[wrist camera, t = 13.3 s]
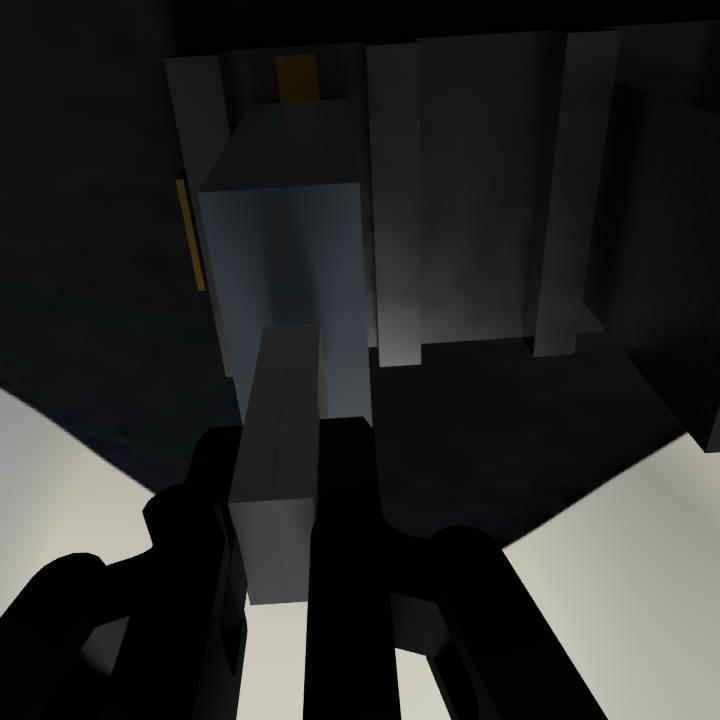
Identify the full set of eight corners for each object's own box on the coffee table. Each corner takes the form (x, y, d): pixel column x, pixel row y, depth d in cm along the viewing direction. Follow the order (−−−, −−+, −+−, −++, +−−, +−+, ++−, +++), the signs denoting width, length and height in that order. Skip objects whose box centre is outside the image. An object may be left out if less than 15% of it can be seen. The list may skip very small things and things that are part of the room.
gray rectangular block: (251, 104, 25) (197, 192, 15) (348, 97, 25) (359, 182, 15) (280, 318, 31) (255, 489, 20) (360, 312, 31) (374, 481, 21)
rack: (170, 51, 26) (37, 101, 14) (771, 13, 26) (1126, 32, 14) (225, 342, 33) (168, 532, 21) (695, 311, 33) (890, 484, 22)
